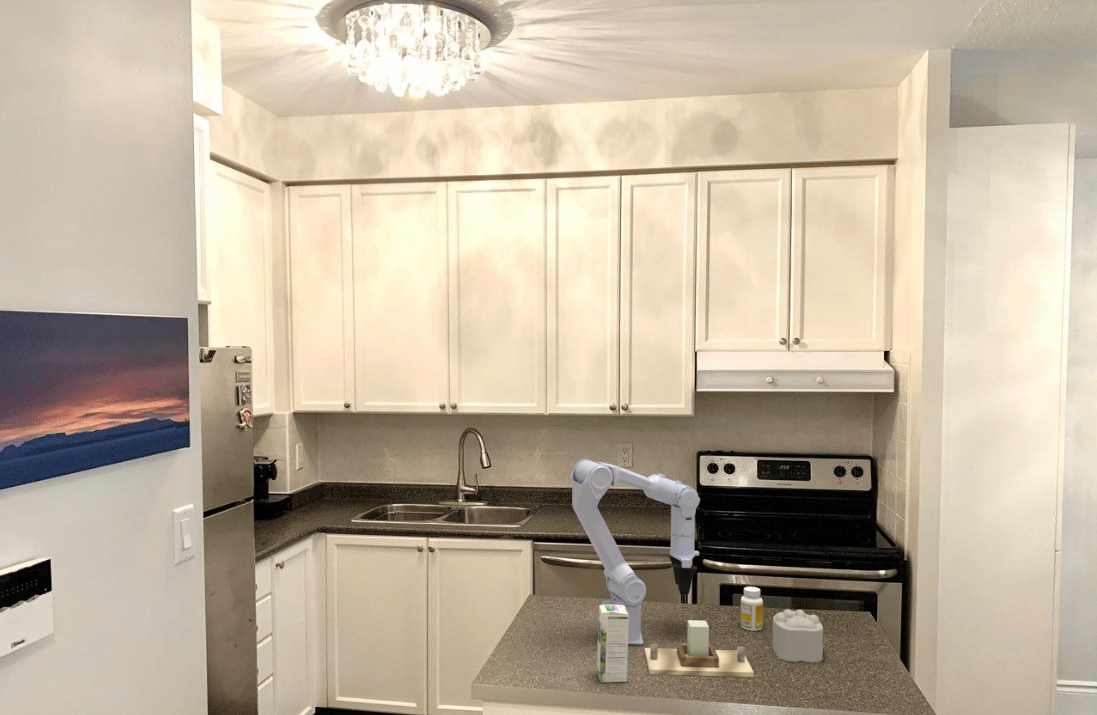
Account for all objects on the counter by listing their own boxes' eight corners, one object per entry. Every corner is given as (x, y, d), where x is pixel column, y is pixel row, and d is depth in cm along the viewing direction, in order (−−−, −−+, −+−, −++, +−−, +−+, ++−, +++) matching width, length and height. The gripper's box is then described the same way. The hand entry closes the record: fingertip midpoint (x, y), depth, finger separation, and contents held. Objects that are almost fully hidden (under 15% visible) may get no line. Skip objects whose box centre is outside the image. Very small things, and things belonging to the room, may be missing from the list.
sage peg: (689, 663, 171) (690, 626, 171) (687, 656, 175) (687, 620, 175) (708, 663, 171) (708, 627, 170) (705, 656, 175) (705, 620, 174)
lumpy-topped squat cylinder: (778, 661, 175) (779, 622, 175) (767, 639, 188) (768, 603, 188) (826, 663, 174) (827, 624, 174) (812, 641, 187) (812, 605, 187)
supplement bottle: (760, 624, 198) (761, 586, 198) (764, 632, 193) (765, 592, 193) (738, 623, 199) (739, 585, 199) (741, 630, 194) (742, 591, 193)
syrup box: (596, 671, 168) (597, 604, 168) (623, 671, 169) (624, 603, 168) (600, 683, 162) (601, 613, 162) (628, 682, 163) (629, 612, 163)
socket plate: (649, 674, 167) (649, 655, 167) (644, 652, 179) (645, 634, 179) (753, 677, 166) (754, 658, 166) (742, 655, 178) (742, 637, 178)
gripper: (703, 541, 185) (703, 598, 185) (694, 527, 199) (694, 580, 200) (673, 540, 185) (673, 598, 185) (666, 526, 200) (666, 579, 200)
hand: (682, 589), depth 193 cm, fingers open, 7 cm apart
